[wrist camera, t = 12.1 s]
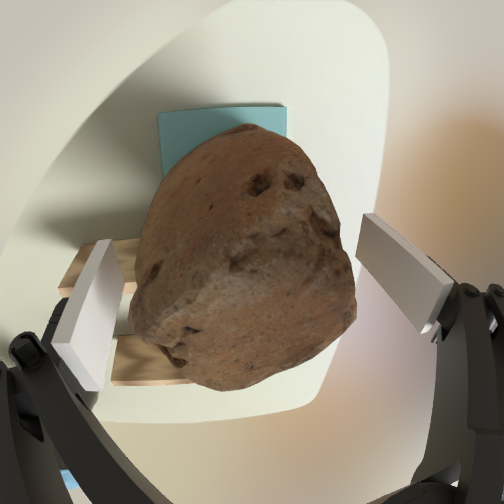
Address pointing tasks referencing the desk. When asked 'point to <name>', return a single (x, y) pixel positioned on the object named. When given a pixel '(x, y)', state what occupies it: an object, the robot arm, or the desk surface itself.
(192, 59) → the desk surface
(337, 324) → the brown pitted rock
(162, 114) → the mat
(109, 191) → the desk surface
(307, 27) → the desk surface
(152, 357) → the wooden u-shaped enclosure
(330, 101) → the desk surface
